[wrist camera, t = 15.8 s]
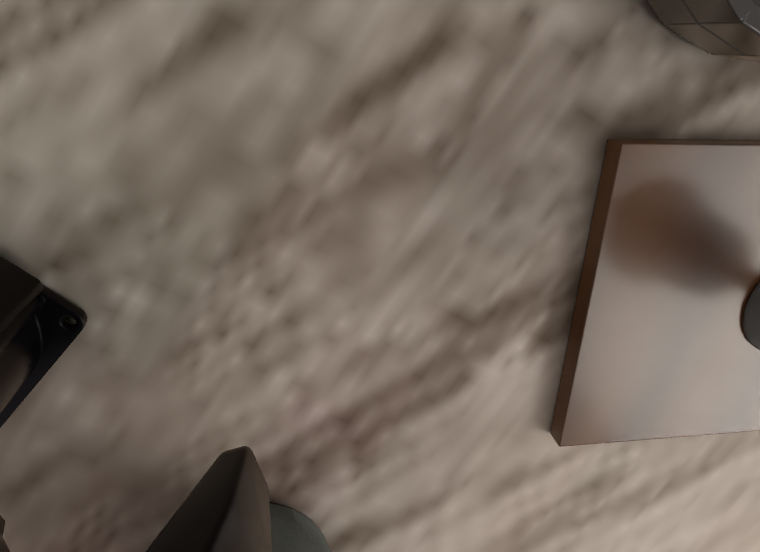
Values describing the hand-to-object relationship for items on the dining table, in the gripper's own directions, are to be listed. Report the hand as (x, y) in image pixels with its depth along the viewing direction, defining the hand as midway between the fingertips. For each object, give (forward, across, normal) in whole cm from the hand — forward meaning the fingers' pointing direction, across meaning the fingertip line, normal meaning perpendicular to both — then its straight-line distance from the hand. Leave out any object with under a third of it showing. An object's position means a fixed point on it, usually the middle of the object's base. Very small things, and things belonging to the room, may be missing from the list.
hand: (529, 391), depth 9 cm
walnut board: (+13, -16, +10) cm, 23 cm away
